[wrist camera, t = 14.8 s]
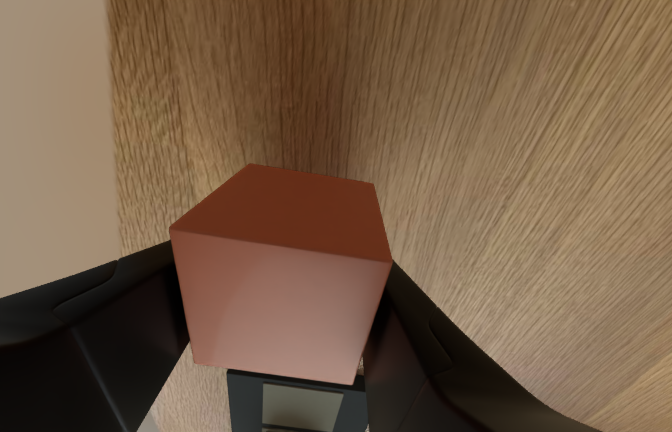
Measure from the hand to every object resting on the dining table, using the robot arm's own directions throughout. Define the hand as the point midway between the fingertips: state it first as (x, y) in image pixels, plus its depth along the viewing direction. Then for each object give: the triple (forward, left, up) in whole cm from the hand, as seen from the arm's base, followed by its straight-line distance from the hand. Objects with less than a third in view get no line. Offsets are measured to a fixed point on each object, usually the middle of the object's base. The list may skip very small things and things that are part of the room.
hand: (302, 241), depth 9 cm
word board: (+1, -25, -3) cm, 25 cm away
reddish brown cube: (0, 0, -1) cm, 1 cm away
